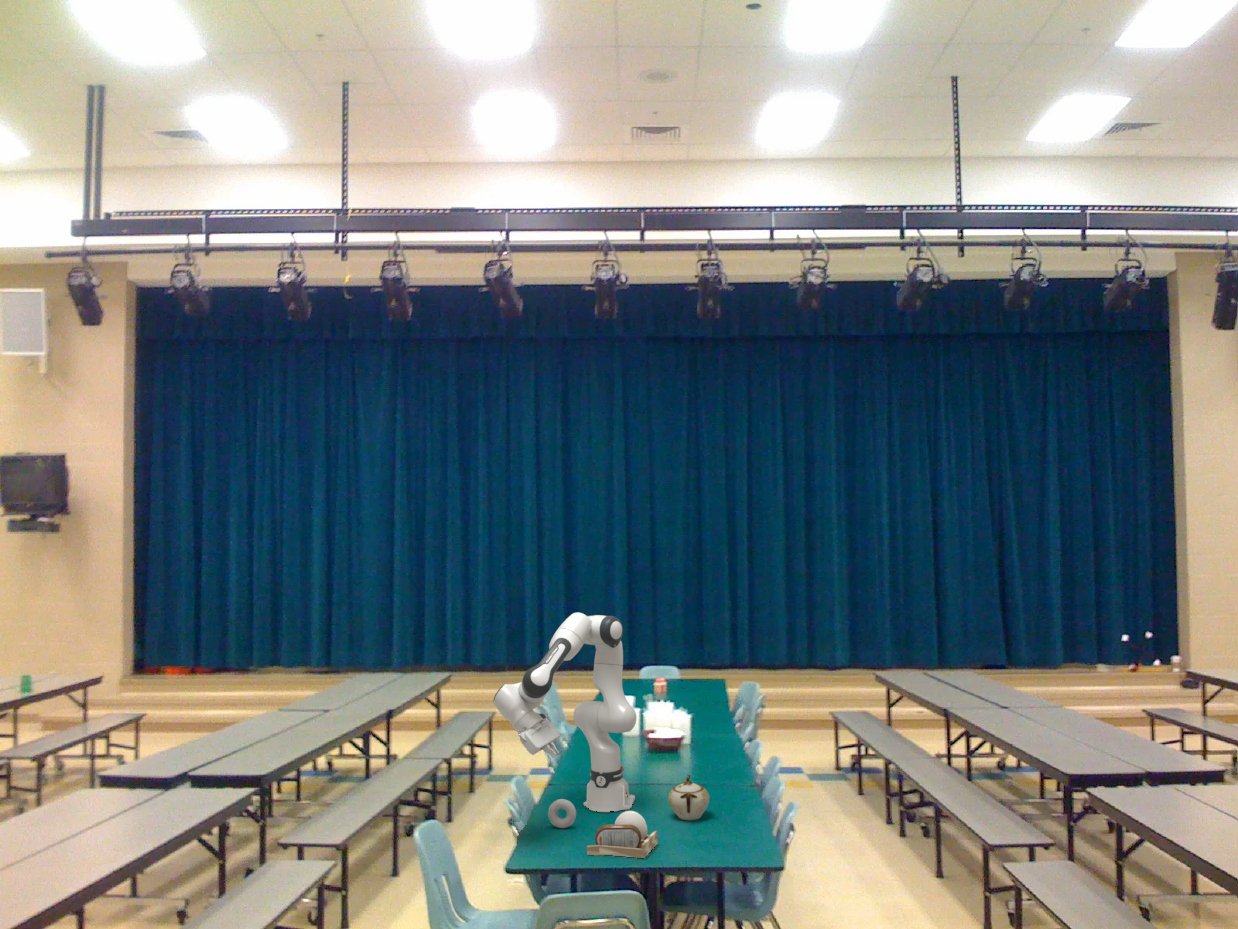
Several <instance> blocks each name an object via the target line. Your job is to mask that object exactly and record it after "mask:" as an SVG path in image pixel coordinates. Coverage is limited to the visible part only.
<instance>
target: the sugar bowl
mask: <svg viewBox="0 0 1238 929" xmlns="http://www.w3.org/2000/svg"><path fill="white" fill-rule="evenodd" d="M690 778H691V775H690V774H687V776H686V779H685V780H684V781H683V782H682V783H680V784H677V785H675V786H673V788H672V789H671V790H670V791H669V793H668V796H667V799H668V800H667V801H668V805H669V806H670V808H671V809H672V811H673V812H674V813H675V814H676V816H677V817H678V818H679V820H683V821H695V820H699V819H700V818H701V817H702V816H703V814H705V811H706V810H707V808H708V806H709V804H710V797H711V796H710V794H709V792H708V791H707V789H705V787H704V786H703V785H701V784H697V783H696V782H695V783H694V782H692V781H691V780H690Z"/></svg>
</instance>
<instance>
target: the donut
mask: <svg viewBox="0 0 1238 929" xmlns="http://www.w3.org/2000/svg"><path fill="white" fill-rule="evenodd" d="M560 810H564V811H565V813H566V816H565V817H561V816H559V815H558V812H559V811H560ZM547 812H548V813H547V816H548V820H549V822H550V823H551V824H552V825H553V826H554V827H556V828H557V829H568V828H569V827H571V826H572V825H573V823H575V820H576V817H577V810H576V807H575V805H574V804H573V802H572V801H570V800H567V799H564V798H560V799H559V798H558V799H556V800H554V801H553V802H551V804H550V805H549V807H548V811H547Z"/></svg>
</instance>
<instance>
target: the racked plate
mask: <svg viewBox="0 0 1238 929" xmlns="http://www.w3.org/2000/svg"><path fill="white" fill-rule="evenodd" d="M647 824H648V823H647V822H646V820H645V818H644V817H643V816H642V815H641V814H640V813H639V812H637V811H635V810H625V811H624V812H621V813H620V814H619V815H618V816H617V817H616V819H615V822H614V825H633V826H635V827H637V828H638V829H639V831H640V833H641V840H644V839H645V837H646V835H648V825H647Z"/></svg>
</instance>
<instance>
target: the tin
mask: <svg viewBox="0 0 1238 929" xmlns="http://www.w3.org/2000/svg"><path fill="white" fill-rule="evenodd" d="M594 840H595V841H594V842H595V845H606V846H618V847H629V848H638V847H639V846H640V843H641V833H640V831H639V829H638V828H637V827H635V826H633V825H615V824H604V825H601V826H600V827H598V828H597V830H596V832H595V835H594Z"/></svg>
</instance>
